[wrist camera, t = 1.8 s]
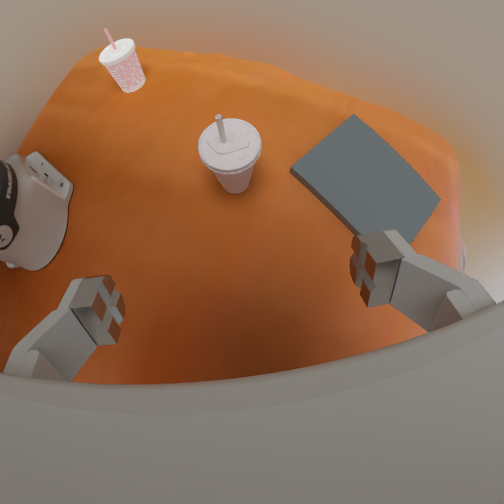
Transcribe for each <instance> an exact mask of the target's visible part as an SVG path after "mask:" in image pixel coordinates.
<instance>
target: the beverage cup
mask: <svg viewBox="0 0 504 504" xmlns="http://www.w3.org/2000/svg"><path fill="white" fill-rule="evenodd" d="M104 31H105V33H106V35H107V37H108V39H109V41H110V43H111V44H110V45H109V46H107V47H106V48H105V49H104V50H103V51H102V52H101V54H100V56H99V61H100V62H101V64H103V65H104V66H105V67H106V68H107V70H108V71H109V72H110V74H111V75H112V77H113V78H114V79H115V81H116V82H117V83H118V85H119V86H120V88H121V89H122V90H123V91H124V92H128V93H129V92H134V91H136V90H138V89H139V88H140V87H141V86H142V85H143V84H144V83H145V76H144V74H143V71H142V68H141V65H140V63H139V60H138V57H137V54H136V51H135V44H134V41H133V40H132V39H121V40H118V41H116V42H113V40H112V38H111V36H110V34H109V32H108V30H107V28H105V29H104Z"/></svg>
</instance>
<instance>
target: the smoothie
mask: <svg viewBox="0 0 504 504" xmlns="http://www.w3.org/2000/svg"><path fill="white" fill-rule="evenodd" d="M215 118H216V122H214V123H213V124H211V125H209V126H208V127H207V128H206V129H205V130H204V131H203V133H202V134H201V136H200V138H199V142H198V151H199V154H200V158H201V160H202V162H203V163H204V165H205V166H206V167H208V168H209V169H210V170H212V172H213V173H214V175H215V176H216V178H217V179H218V181H219V182H220V184H221V185H222V187H223V188H224V189H225V190H226V191H227V192H229V193H232V194H239V193H242V192H244V191H245V190H246V189H247V188H248V186H249V183H250V180H251V176H252V172H253V168H254V164H255V162H256V161H257V159H258V158H259V156H260V153H261V139H260V135H259V133H258V131H257V130H256V129H255V127H254V126H252V125H251V124H250V123H248V122H246V121H244V120H241V119H235V118H228V119H222V115H220V114H217V115H216V116H215Z"/></svg>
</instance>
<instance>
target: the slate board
mask: <svg viewBox="0 0 504 504" xmlns="http://www.w3.org/2000/svg"><path fill="white" fill-rule="evenodd" d="M290 173H291V174H293V175H294V176H295V177H296V178H297V179H298V180H299V181H300V182H301V183H302V184H304V185H305V186H306V187H307V188H308V189H309V190H310V191H311V192H312V193H313V194H314V195H315V196H316V197H317V198H318V199H319V200H320V201H322V202H323V203H324V204H325V205H326V206H327V207H328V208H329V209H330V210H331V211H332V212H333V213H334V214H335V215H336V216H337V217H338V218H339V219H340V220H341V221H342V222H343V223H344V224H345V225H346V226H347V227H348V228H349V229H350V230H351V231H352V232H353V233H354V234H355V235H356V236H358V235H363V234H369V233H375V232H380V231H384V230H389V229H394V230H396V231H397V232H398V233H399V234H400V235H401V236H402V237H403V238H404V239H405V241H406V242H407V243H408V244H409V245H410V243H411V242H412V241H413V239H414V238H415V237H416V235H417V234H418V232H419V231H420V230H421V228H422V227H423V225H424V224H425V222H426V221H427V220H428V218H429V217H430V215H431V214H432V212H433V211H434V209H435V208H436V206H437V205H438V203H439V202H440V200H441V199H440V198H439V197H438V195H437V194H436V193H435V192H434V191H433V190H432V189H431V187H430V186H429V185H428V184H427V183H426V182H425V181H424V180H423V179H422V178H421V176H420V175H419V174H418V173H417V172H416V171H415V170H414V169H413V168H412V167H411V166H410V165H409V164H408V163H407V162H406V161H405V160H404V159H403V158H402V157H401V156H400V155H399V154H398V153H397V152H396V151H395V150H394V149H393V148H392V147H391V146H390V145H389V144H388V143H387V142H386V141H384V140H383V139H382V138H381V137H380V136H379V135H378V134H377V133H376V132H375V131H373V130H372V129H371V128H370V127H369V126H368V125H367V124H365V123H364V122H363V121H362V120H361V119H359V118H358V117H357V116H356V115H355V114H353V115H352V116H351V117H349V118H348V119H347V120H346V121H345V122H343V123H342V124H341V125H340V126H339V127H337V128H336V129H335V130H334V131H333V132H331V133H330V134H329V135H328V136H327V137H325V138H324V139H323V140H322V141H321V142H320V143H318V144H317V145H316V146H315V147H314V148H313V149H311V150H310V151H309V152H308V153H307V154H306V155H304V156H303V157H302V158H301V159H300V160H299V161H298V162H296V163H295V164H294V165H293V166H292V167H291V170H290Z"/></svg>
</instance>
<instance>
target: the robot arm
mask: <svg viewBox="0 0 504 504" xmlns="http://www.w3.org/2000/svg"><path fill="white" fill-rule="evenodd" d="M72 191H73V184H72V183H71V182H70V181H69V180H68V179H67V178H66V177H65V176H64V175H63V174H62V173H60V172H59V171H58V170H57V169H56V168H55V167H54V166H53V165H52V164H51V163H50V162H49V161H48V160H47V159H45V158H44V157H43V156H42V155H41V154H40V153H38V152H37V151H35V152H33V153H31V154H30V155H28V156H27V157H26V158H24V157H23V156H21V155H19V154H14V155H12V156H11V157H9V158H8V159H7V160H6V161H1V160H0V260H1V261H4V262H6V264H7V266H8V267H10V268H13V269H14V268H18V267H22V268H25V269H27V270H31V271H35V270H39V269H41V268H43V267H44V266H46V265H47V264H48V263H49V262H50V261H51V260H52V259H53V257H54V256H55V254H56V253H57V251H58V249H59V247H60V245H61V243H62V241H63V238H64V235H65V231H66V226H67V218H68V203H69V200H70V198H71V195H72ZM351 247H352V249H353V251H354V254H353V255H352V256H351V258H350V274H351V277H352V280H353V282H354V284H355V285H356V286H358V287H360V288H361V291H360V295H361V297H362V299H363V301H364V302H365V304H366V306H367V308H370V307H374V306H379V305H383V304H388V303H390V305H392V306H393V307H395V308H396V309H397V310H399V311H400V312H401V313H403V314H404V315H406V316H407V317H408V318H410V319H411V320H413V321H414V322H415V323H417V324H418V325H419V326H421V327H422V328H423V329H425V330H426V331H428V332H429V333H426V334H423V335H421V336H418V337H415V338H412V339H409V340H406V341H403V342H400V343H397V344H393V345H390V346H387V347H384V348H380V349H377V350H373V351H370V352H366V353H362V354H359V355H355V356H351V357H347V358H343V359H339V360H335V361H331V362H326V363H322V364H317V365H313V366H308V367H303V368H298V369H292V370H287V371H281V372H275V373H269V374H263V375H256V376H249V377H241V378H233V379H224V380H214V381H203V382H190V383H173V384H93V383H77V382H71V381H72V380H73V378H74V377H75V376H76V374H77V373H78V372H79V370H80V369H81V368H82V366H83V365H84V363H85V362H86V361H87V359H88V358H89V357H90V355H91V354H92V353H93V352H94V350H95V349H96V348H97V345H110V344H117V341H118V338H119V334H120V330H121V329H120V327H119V325H118V324H119V323H120V322H121V321H122V320H123V319H124V316H125V303H124V300H123V298H122V296H121V294H120V293H119V292H118V291H116V290H115V289H114V287H115V282H114V280H113V279H112V277H111V276H109V275H100V276H93V277H86V278H79V279H74V280H72V281H71V283H70V285H69V287H68V289H67V291H66V293H65V294H64V296H63V298H62V300H61V302H60V304H59V306H58V308H57V310H54V311H52V312H51V313H50V314H49V315H48V316H47V317H46V318H45V319H44V320H42V321H41V322H40V323H39V324H38V325H37V326H36V327H35V328H34V329H33V330H32V331H30V332H29V333H28V334H27V335H26V336H25V337H24V338H23V339H22V340H21V341H20V342H19V343H18V344H17V345H16V346H15V347H14V348H13V350H12V352H11V355H10V357H9V359H8V362H7V364H6V366H5V369H4V371H3V373H0V504H504V301H502V302H500V303H497V304H496V302H495V301H494V300H493V299H492V297H491V296H490V295H489V294H488V292H487V291H486V290H485V289H484V287H483V286H482V285H481V284H480V283H479V281H478V280H476V279H473V278H471V277H469V276H467V275H465V274H463V273H461V272H459V271H457V270H455V269H453V268H451V267H448V266H446V265H444V264H442V263H440V262H438V261H435V260H433V259H431V258H429V257H426V256H424V255H418V254H417V253H416V252H415V251H414V250H413V248H412V247H411V246H410V245H409V244H408V243H407V242H406V241H405V239H404V238H403V237H402V236H401V235H400V234H399V233H398V232H397V231H396V230H394V229H389V230H384V231H380V232H375V233H369V234H363V235H358V236H353V239H352V244H351Z"/></svg>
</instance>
